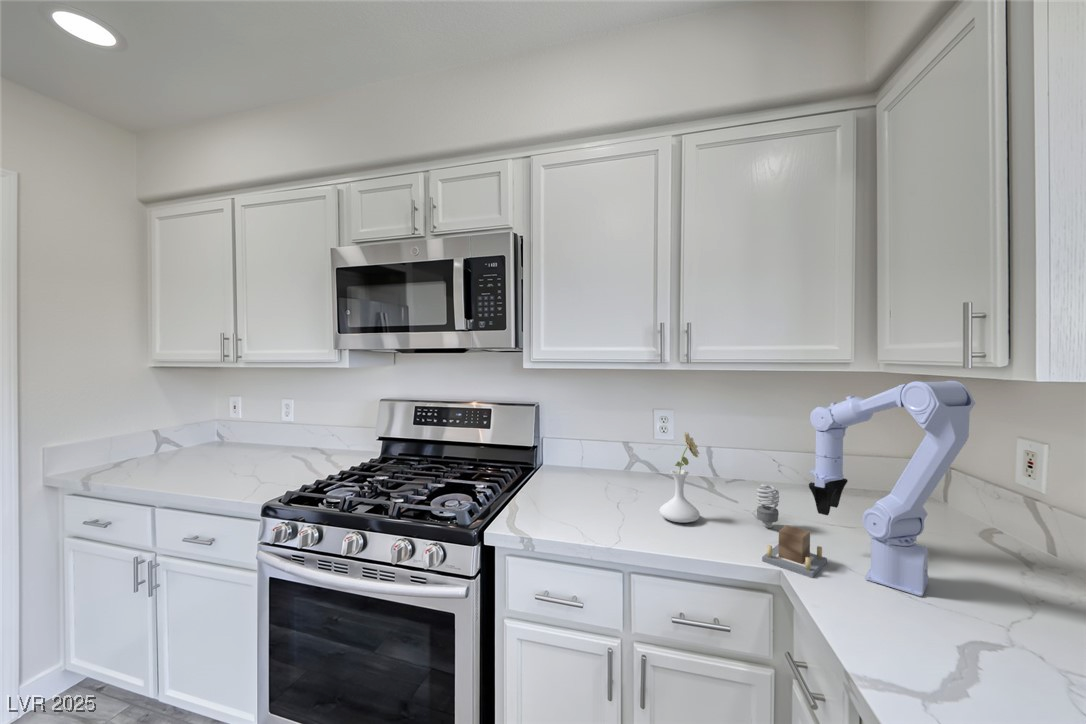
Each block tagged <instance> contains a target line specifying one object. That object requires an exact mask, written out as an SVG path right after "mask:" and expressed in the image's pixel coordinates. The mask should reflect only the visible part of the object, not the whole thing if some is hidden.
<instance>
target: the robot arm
mask: <svg viewBox="0 0 1086 724" xmlns="http://www.w3.org/2000/svg"><path fill="white" fill-rule="evenodd" d="M845 399H846V400H843V401H839V402H831V403H830V405H829V406H828V407H825V406H824V407H823V406H817V407H815V408H813V409H812V411H811V412H810V414H809V415H810V416H809V420H810V424H811V426H812V427H813V428H814V429H815V446H814V447H815V450H814V451H815V454H814V455H815V459H814V463H815V464H814V469H811V470H809V474H811V475H813V476H814V482H812V481H811V482H810V483H808V488H809V489H810V491H811V494H812V496H813V498H814V501H815V505H816V506H815V507H816V511H817V513H818V514H819V515H820V514H821V515H823V516H829V515H830V512H831V508H839V504H840V500H841V497H842V494H843V490H844V488H845V486H846V485H847V483H848V479H847V478H844V474H843V468H844V467H843V465H844V464H843V463H844V462H843V461H844V457H843V456H844V437H845V436H846V431H847V429H848V427H851V426H854V425H858V424H861V423H864V422H867V421H870V420H871V419H872V418H873V415H874V414H875V413H878V412H882V411H885V410H890V409H894V408H897V407H899V408H905V410H906V411H907V412H908V413H909V414H910V415H911V417H913V419H914V420H915V421H916V423H917V424H918V425H919V426H920V428H921V429H922V430H924V432H925V436H924V438H923V440H922V441H921V442H920V444H919V445H918V447H917V449H916V451H915V452H914V454H913V455H912V457H911V459H910V460H909V462H908V464H907V465H906V466H905V468H904V470H903V472H902V473H901V475H900V477H899V478H898V480H897V482H896V483H895V485H894V487H893V488H892V490H891V492H890V493H889V494H887V495H886V496H884V497H882V498H881V499H879V500H877V501H876V502H875V503H874V504H873V506H872V507H870V508H868V509H866V510H865V511H864V512H863V514H862V519H861V520H862V524H863V527H864V529H865V531H866V533H868V536H869V537H870V569H869V570H868V572H866V574H865V575H864V579H865V580H867V581H869V582H874V583H876V584H879V585H882V586H887V587H889V588H893V589H896V590H899V591H903V592H905V593H908V594H911V595H915V596H918V597H923V596H924V593H925V591H926V589H927V586H928V584H929V575H928V574H929V573H928V569H929V568H928V567H929V550H928V547H926V546H923V545H920V544H918V543H916V542H917V539H918V538H917V536H919V535H921V534H923V531H924V528H925V520H926V518H927V516H928V512H927V511H926V509H925V508H924V506H925V504H926V502H927V500H928V499H929V498H930V496H932V493H933V492H934V491H935V489H936V488H937V486H938V484H939V483H940V482H941V480H942V479H943V477H944V476H945V474H946V473H947V471H948V470H949V468H950V466H951V465H952V463H953V462H954V460H955V459H956V458H957V456H958V455H959V454H960V452H961V451H962V448H964V446H965V445H966V443H967V441H968V438H969V435H970V434H969V433H970V415H971V414H970V413H971V411H972V410H973V408H974V407H975V405H976V401H975V400H974V398H973V396H972V393H971V392H970V391H969V388H968V387H967V386H966V385H965V384H963V383H961V382H960V381H956V380H946V381H945V380H944V381H919V380H917V381H911V382H909V383H904V384H899V385H897V386H896V387H893V388H889V389H887V390H885V391H883V392H880V393H878V394H875V395H873V396H870V397H868V398H864V397H861V396H856V395H849V396H846V397H845Z"/></svg>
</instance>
